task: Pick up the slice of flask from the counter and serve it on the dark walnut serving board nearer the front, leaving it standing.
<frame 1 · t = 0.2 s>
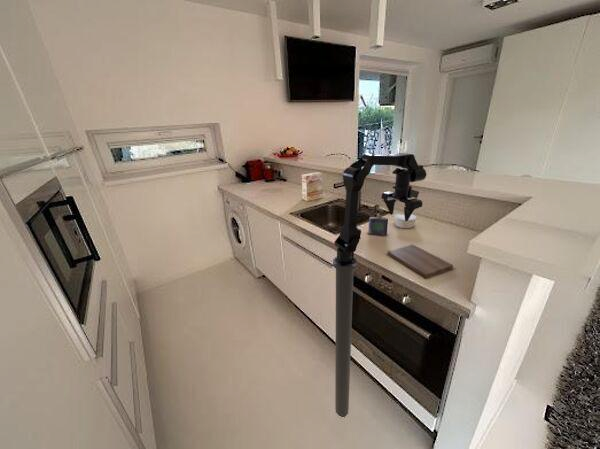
hand: (398, 217, 111), 13 cm above the worktop, tool pointing down, fingers open, 9 cm apart
flask: (377, 234, 127), on the worktop
serving board: (418, 261, 100), on the worktop
coffeecake box: (312, 198, 193), on the worktop
ramekin: (404, 225, 135), on the worktop
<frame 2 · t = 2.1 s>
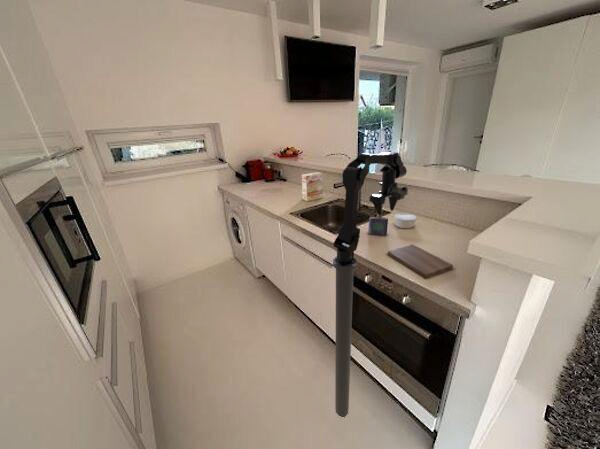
hand: (385, 212, 118), 13 cm above the worktop, tool pointing down, fingers open, 9 cm apart
nothing on the worktop moved.
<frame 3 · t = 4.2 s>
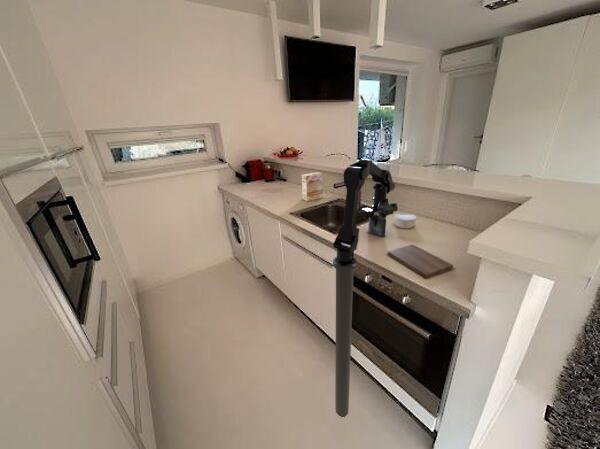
hand: (377, 225, 125), 5 cm above the worktop, tool pointing down, fingers closed on flask, 3 cm apart
flask: (376, 234, 126), on the worktop, touching gripper
everything else where it was.
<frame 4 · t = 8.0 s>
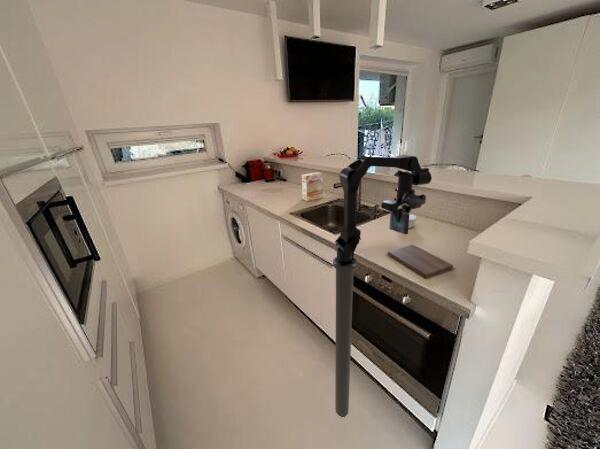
hand: (400, 221, 107), 13 cm above the worktop, tool pointing down, fingers closed on flask, 3 cm apart
flask: (398, 231, 109), point 8 cm above the worktop, touching gripper
everything else where it was.
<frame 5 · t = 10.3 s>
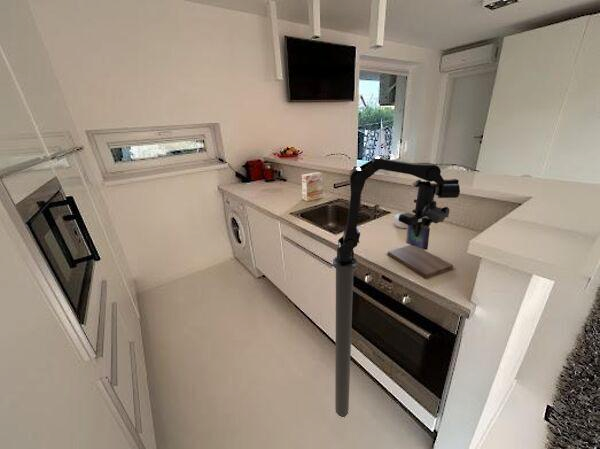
hand: (419, 235, 97), 11 cm above the worktop, tool pointing down, fingers closed on flask, 3 cm apart
flask: (416, 246, 99), point 6 cm above the worktop, touching gripper
everything else where it was.
when the fingers open (6 cm above the worktop, at t = 12.2 s): flask stays where it is, resting on serving board.
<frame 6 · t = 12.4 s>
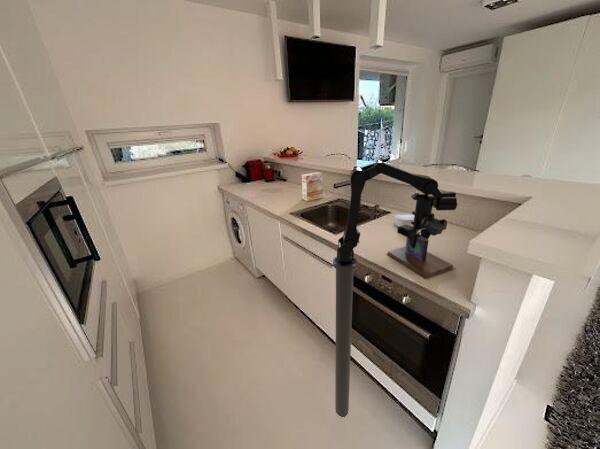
hand: (418, 246, 99), 6 cm above the worktop, tool pointing down, fingers open, 5 cm apart
flask: (415, 256, 101), point 1 cm above the worktop, touching serving board
everything else where it was.
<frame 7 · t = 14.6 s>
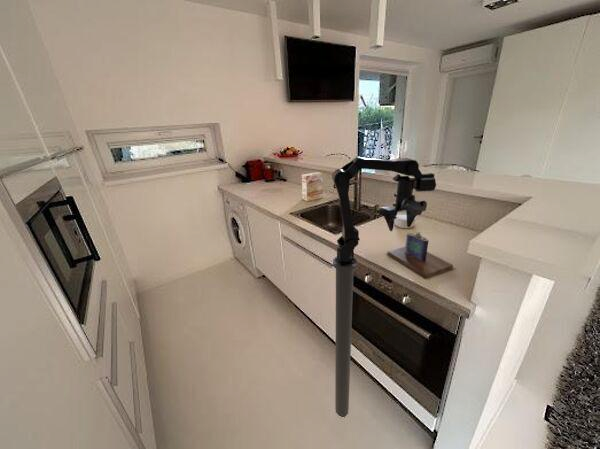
hand: (399, 228, 101), 13 cm above the worktop, tool pointing down, fingers open, 9 cm apart
nothing on the worktop moved.
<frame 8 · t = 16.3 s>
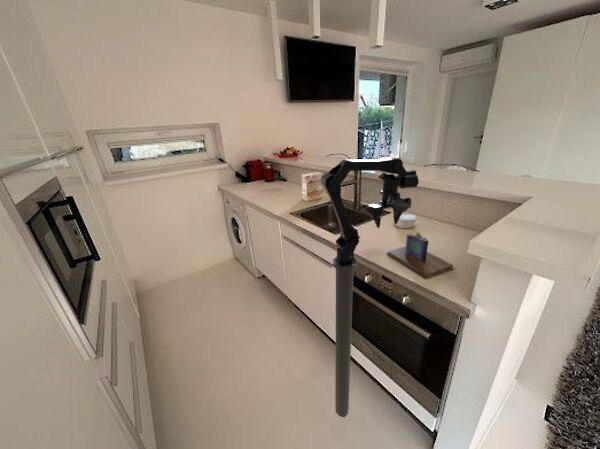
hand: (386, 225, 103), 13 cm above the worktop, tool pointing down, fingers open, 9 cm apart
nothing on the worktop moved.
at the end: flask inside the target area on the serving board (1.6 cm from its centre), point 1.4 cm above the serving board's base; flask tilted 0°; the gripper is holding nothing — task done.
